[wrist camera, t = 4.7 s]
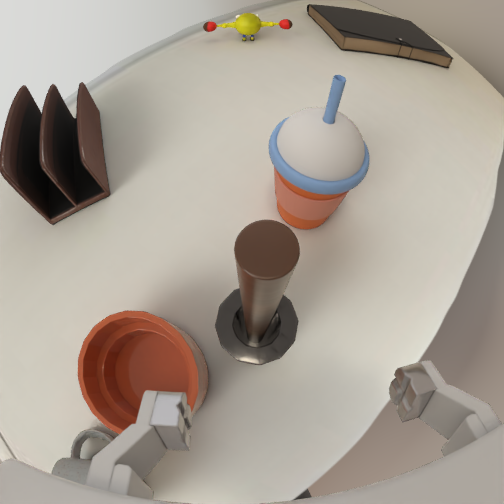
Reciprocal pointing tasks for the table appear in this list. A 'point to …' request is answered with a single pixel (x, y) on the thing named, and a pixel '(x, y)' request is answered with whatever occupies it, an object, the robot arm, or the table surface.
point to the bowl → (137, 366)
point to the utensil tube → (235, 335)
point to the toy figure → (247, 25)
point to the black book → (378, 34)
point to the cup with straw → (316, 161)
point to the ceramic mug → (77, 458)
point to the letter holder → (54, 153)
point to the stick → (264, 271)
